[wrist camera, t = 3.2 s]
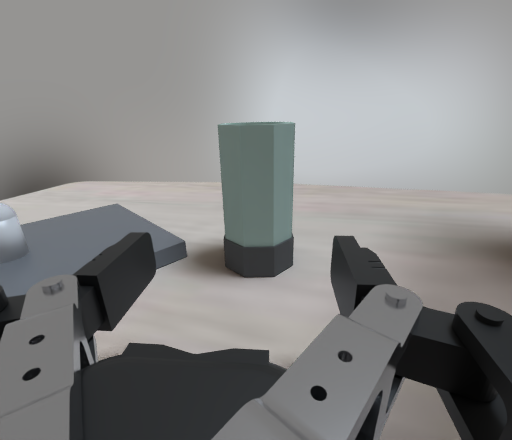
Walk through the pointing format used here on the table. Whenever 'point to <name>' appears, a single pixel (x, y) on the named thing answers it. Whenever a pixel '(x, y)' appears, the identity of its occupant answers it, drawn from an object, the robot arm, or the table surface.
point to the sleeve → (257, 196)
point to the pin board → (71, 243)
